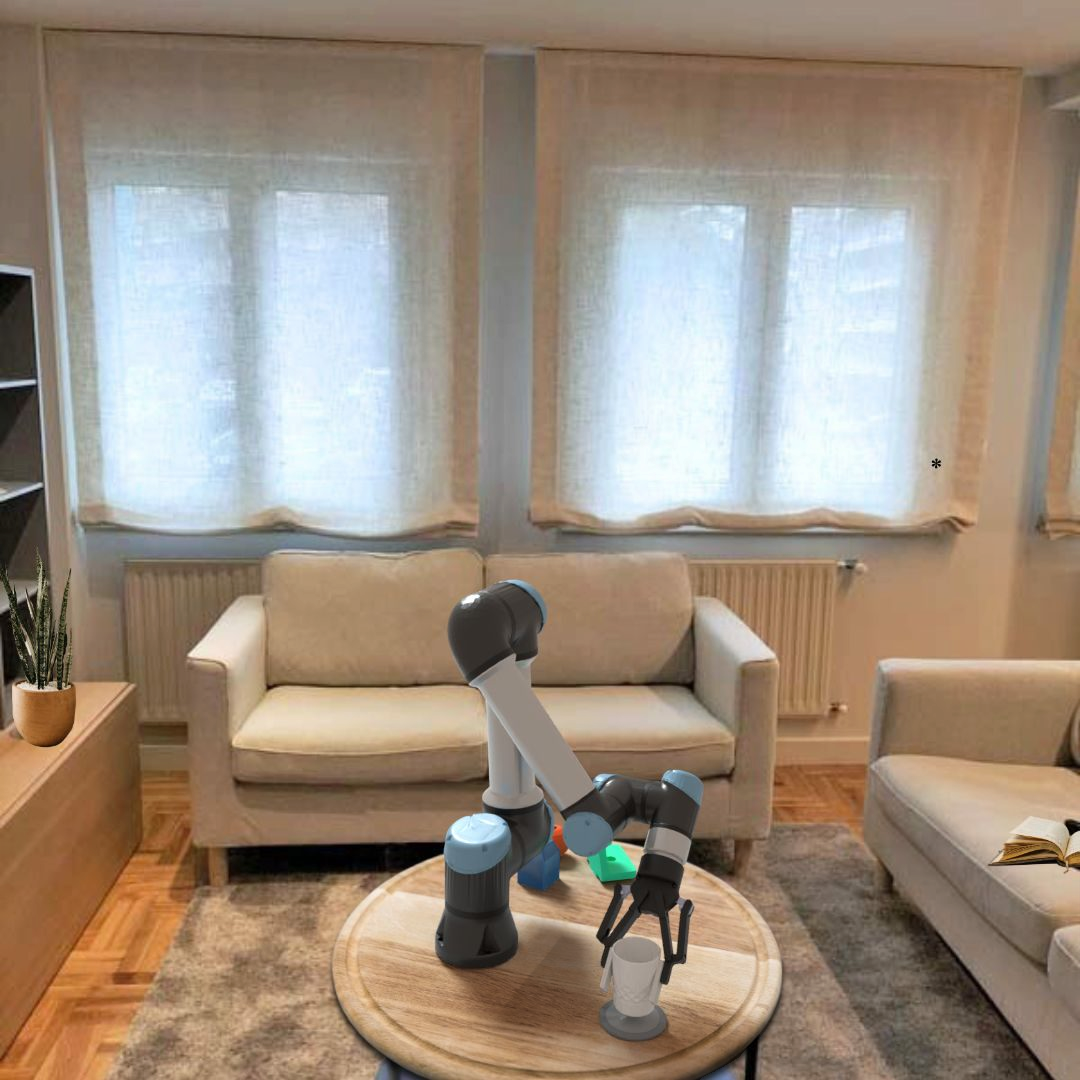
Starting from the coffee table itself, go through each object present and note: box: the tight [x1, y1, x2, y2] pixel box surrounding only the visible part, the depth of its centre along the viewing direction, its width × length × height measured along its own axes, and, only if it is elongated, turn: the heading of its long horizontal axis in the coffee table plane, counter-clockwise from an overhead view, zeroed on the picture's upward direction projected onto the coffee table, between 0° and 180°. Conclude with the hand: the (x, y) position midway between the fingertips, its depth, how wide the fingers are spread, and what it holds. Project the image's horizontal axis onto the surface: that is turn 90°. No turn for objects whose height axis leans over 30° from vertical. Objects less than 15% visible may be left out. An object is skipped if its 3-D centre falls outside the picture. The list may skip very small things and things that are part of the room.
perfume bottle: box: [516, 840, 561, 892], centre depth 230 cm, size 6×6×12 cm
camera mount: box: [586, 840, 637, 882], centre depth 235 cm, size 12×8×10 cm, turn 14°
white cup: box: [612, 936, 662, 1017], centre depth 185 cm, size 8×8×10 cm
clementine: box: [551, 823, 569, 857], centre depth 241 cm, size 8×7×7 cm
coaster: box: [598, 998, 667, 1042], centre depth 186 cm, size 11×11×1 cm
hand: (627, 996), depth 182 cm, fingers closed on white cup, 8 cm apart
